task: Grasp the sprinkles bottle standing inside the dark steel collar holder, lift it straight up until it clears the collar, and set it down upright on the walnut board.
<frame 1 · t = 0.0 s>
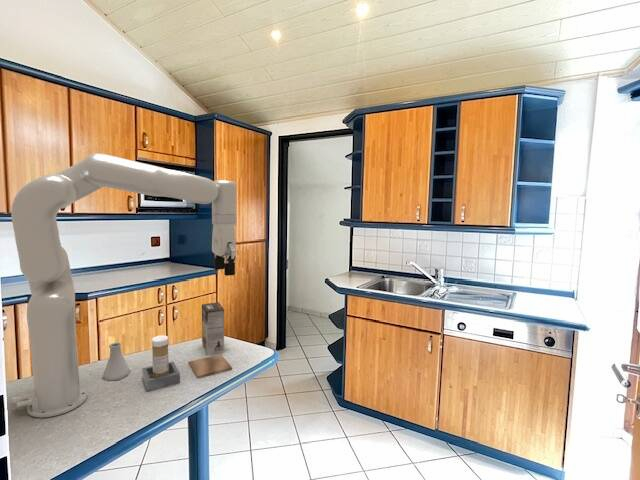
hand: (224, 272, 114), 31 cm above the table, tool pointing down, fingers open, 9 cm apart
sprinkles bottle: (161, 380, 106), resting in steel collar holder
walnut board: (209, 366, 115), on the table
flask: (116, 375, 109), on the table
steel collar holder: (161, 380, 106), on the table
coffee box: (213, 349, 129), on the table
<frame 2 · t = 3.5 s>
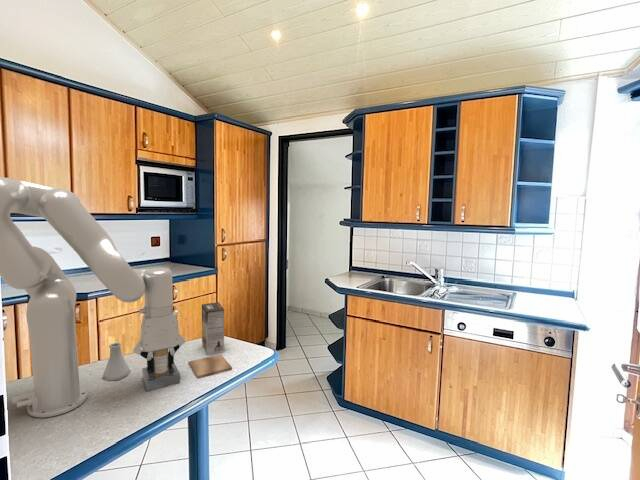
hand: (160, 368, 106), 4 cm above the table, tool pointing down, fingers closed on sprinkles bottle, 4 cm apart
sprinkles bottle: (161, 380, 106), resting in steel collar holder, touching gripper
everything else where it was.
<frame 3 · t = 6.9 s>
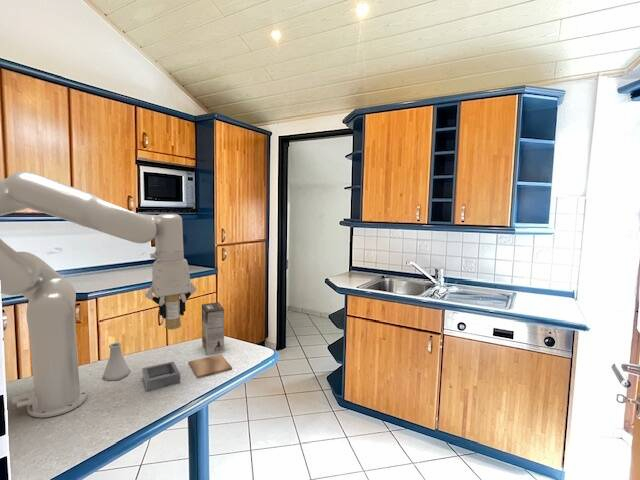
hand: (172, 315, 106), 20 cm above the table, tool pointing down, fingers closed on sprinkles bottle, 4 cm apart
sprinkles bottle: (173, 328, 107), point 16 cm above the table, touching gripper
everything else where it was.
when the fingers open (6 cm above the table, at t = 10.5 s): sprinkles bottle drops 1 cm, resting on walnut board.
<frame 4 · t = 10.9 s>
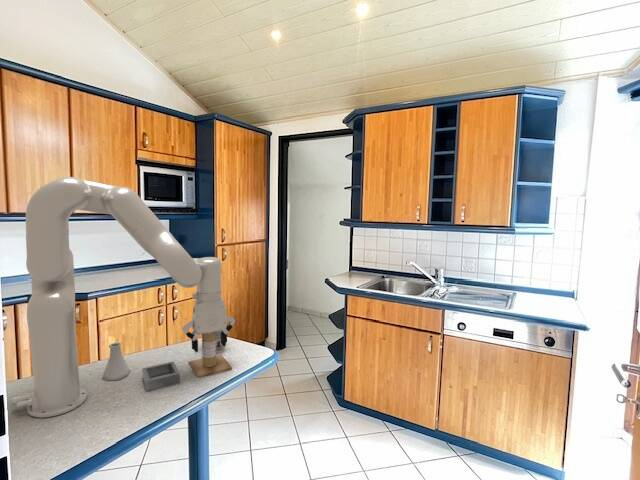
hand: (209, 347, 115), 7 cm above the table, tool pointing down, fingers open, 8 cm apart
sprinkles bottle: (209, 365, 115), point 1 cm above the table, touching walnut board
everything else where it was.
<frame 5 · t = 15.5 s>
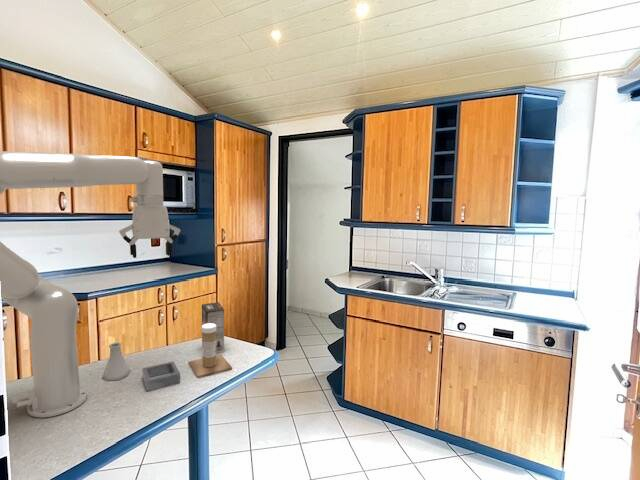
hand: (151, 256, 111), 36 cm above the table, tool pointing down, fingers open, 9 cm apart
nothing on the table moved.
at the end: sprinkles bottle inside the target area on the walnut board (0.2 cm from its centre), point 0.6 cm above the walnut board's base; sprinkles bottle tilted 0°; the gripper is holding nothing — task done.
